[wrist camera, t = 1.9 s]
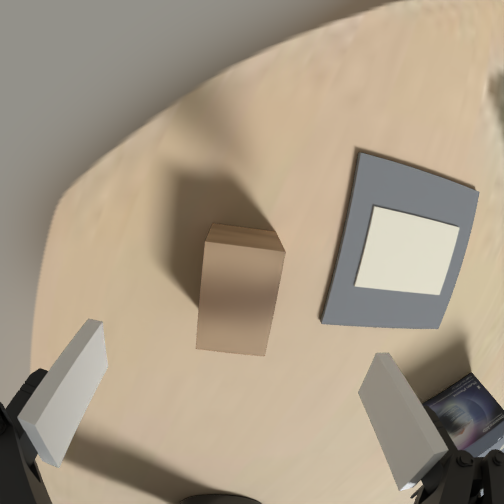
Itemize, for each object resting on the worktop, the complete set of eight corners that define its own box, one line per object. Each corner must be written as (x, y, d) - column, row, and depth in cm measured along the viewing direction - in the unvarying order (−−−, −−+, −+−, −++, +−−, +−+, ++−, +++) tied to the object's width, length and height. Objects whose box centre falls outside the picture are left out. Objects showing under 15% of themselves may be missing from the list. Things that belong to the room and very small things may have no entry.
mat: (435, 326, 28) (439, 329, 27) (320, 321, 27) (322, 325, 26) (476, 191, 23) (480, 192, 23) (358, 152, 22) (361, 152, 22)
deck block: (259, 319, 26) (264, 356, 21) (203, 312, 26) (195, 348, 21) (275, 231, 24) (285, 252, 19) (212, 222, 24) (205, 241, 18)
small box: (472, 368, 31) (512, 414, 21) (470, 394, 33) (503, 437, 23) (409, 408, 32) (442, 465, 22) (413, 430, 34) (440, 481, 24)
